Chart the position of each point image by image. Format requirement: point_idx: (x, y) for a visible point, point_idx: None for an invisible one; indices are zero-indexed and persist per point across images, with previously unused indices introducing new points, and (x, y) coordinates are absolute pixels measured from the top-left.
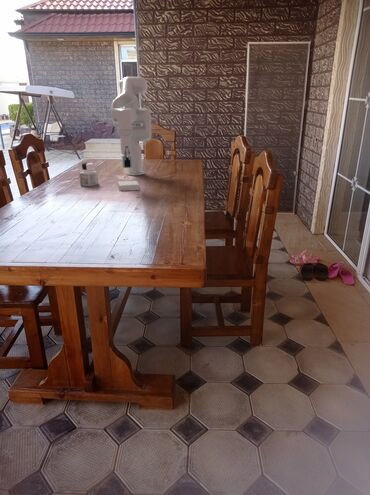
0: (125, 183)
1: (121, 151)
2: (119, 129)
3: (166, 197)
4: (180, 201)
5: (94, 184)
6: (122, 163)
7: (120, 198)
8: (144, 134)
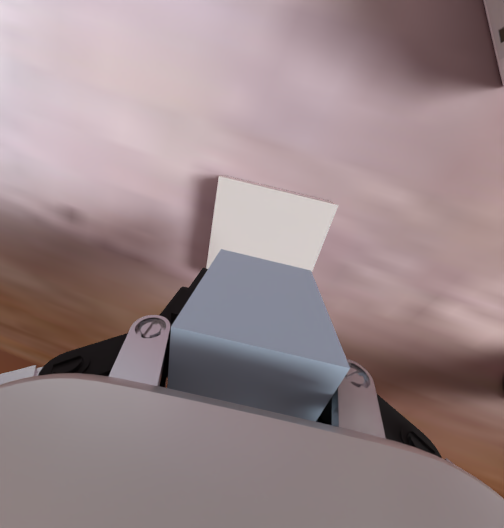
0: (259, 230)
1: (113, 487)
2: None
3: (66, 305)
4: (13, 317)
5: (495, 35)
6: (263, 278)
7: (58, 125)
8: None
